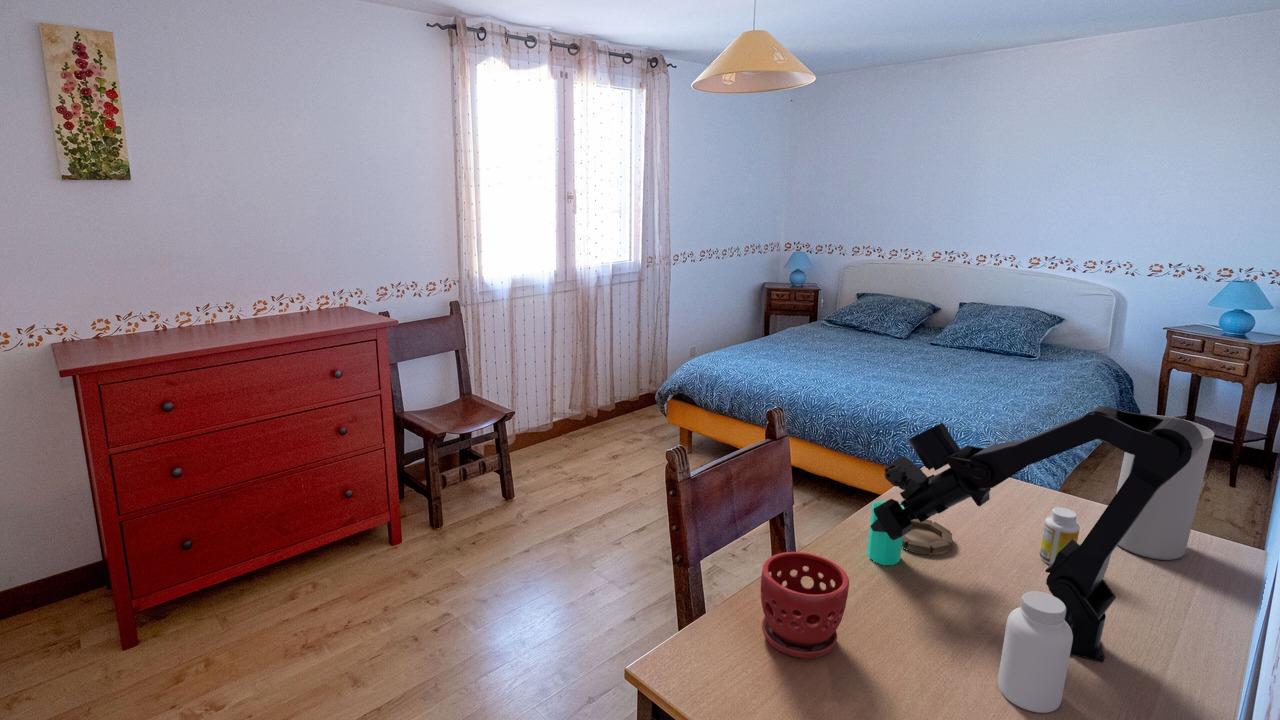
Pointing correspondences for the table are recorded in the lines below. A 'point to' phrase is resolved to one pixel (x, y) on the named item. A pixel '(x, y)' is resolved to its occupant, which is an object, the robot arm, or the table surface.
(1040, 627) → the pill bottle
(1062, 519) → the supplement bottle
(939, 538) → the ring seat
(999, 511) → the table surface
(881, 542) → the candle
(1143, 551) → the cylinder vase
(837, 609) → the plant pot
